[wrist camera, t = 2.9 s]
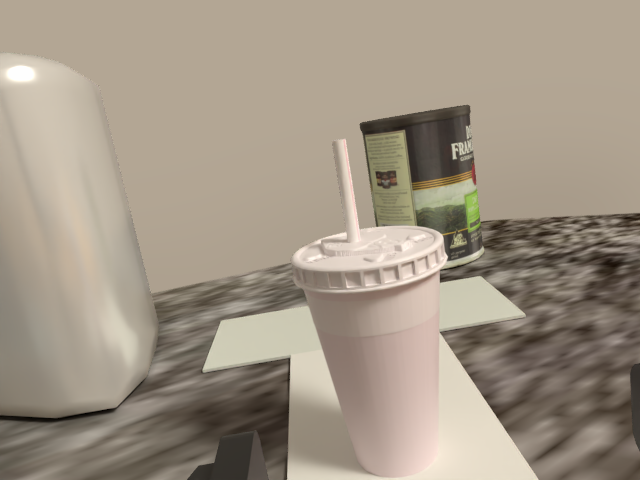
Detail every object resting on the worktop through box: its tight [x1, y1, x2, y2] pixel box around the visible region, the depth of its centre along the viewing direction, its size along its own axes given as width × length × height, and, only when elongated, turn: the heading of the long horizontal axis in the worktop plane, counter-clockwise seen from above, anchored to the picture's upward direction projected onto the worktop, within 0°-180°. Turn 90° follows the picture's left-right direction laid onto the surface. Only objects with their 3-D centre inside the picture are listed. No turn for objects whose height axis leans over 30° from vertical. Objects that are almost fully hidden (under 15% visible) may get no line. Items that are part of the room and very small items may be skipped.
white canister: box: [0, 52, 159, 418], centre depth 35 cm, size 15×14×22 cm
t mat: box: [203, 276, 538, 480], centre depth 31 cm, size 22×27×1 cm
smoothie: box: [291, 139, 448, 478], centre depth 22 cm, size 6×6×14 cm
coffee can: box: [360, 105, 484, 270], centre depth 52 cm, size 10×10×14 cm
